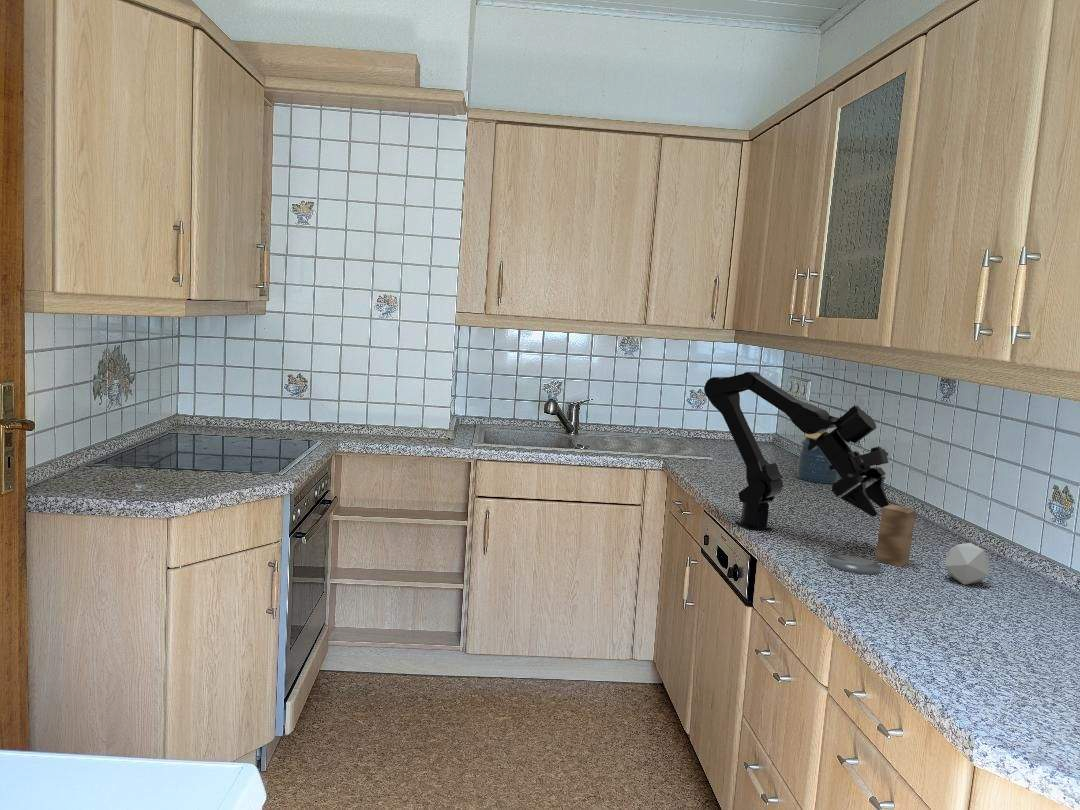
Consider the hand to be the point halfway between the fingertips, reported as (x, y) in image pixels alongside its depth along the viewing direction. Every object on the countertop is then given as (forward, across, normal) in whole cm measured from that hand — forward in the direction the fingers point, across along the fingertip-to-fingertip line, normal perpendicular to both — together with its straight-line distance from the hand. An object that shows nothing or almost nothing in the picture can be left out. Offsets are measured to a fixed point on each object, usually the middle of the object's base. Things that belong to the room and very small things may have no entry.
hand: (882, 513), depth 193 cm
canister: (-26, +81, +40) cm, 94 cm away
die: (+20, -1, -6) cm, 21 cm away
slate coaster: (+6, -12, +8) cm, 16 cm away
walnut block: (+10, 0, +5) cm, 11 cm away
